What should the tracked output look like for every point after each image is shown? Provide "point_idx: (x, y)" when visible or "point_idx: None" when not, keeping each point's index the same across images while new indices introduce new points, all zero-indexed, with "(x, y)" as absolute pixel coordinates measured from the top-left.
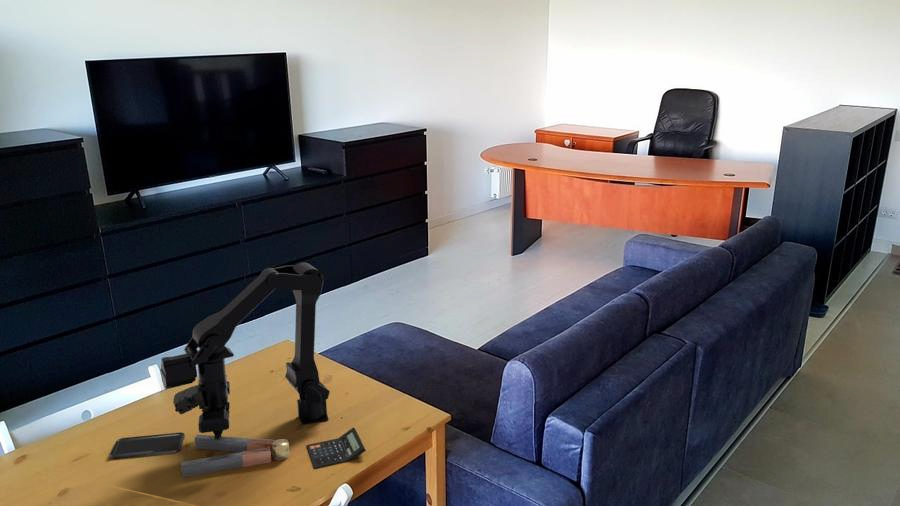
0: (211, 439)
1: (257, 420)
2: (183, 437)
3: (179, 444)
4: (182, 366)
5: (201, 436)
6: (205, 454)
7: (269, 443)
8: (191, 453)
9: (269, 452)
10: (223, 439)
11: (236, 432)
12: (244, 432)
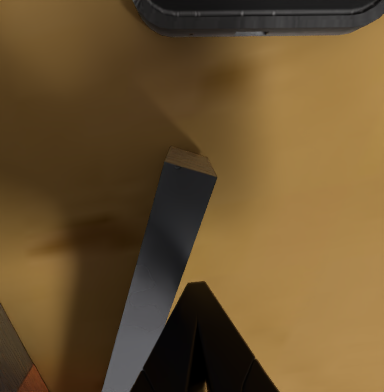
0: (131, 286)
1: (361, 370)
2: (315, 28)
3: (223, 13)
4: None
5: (178, 214)
6: (112, 207)
7: None
8: (128, 125)
9: None
10: (118, 353)
11: (291, 312)
12: (279, 340)
